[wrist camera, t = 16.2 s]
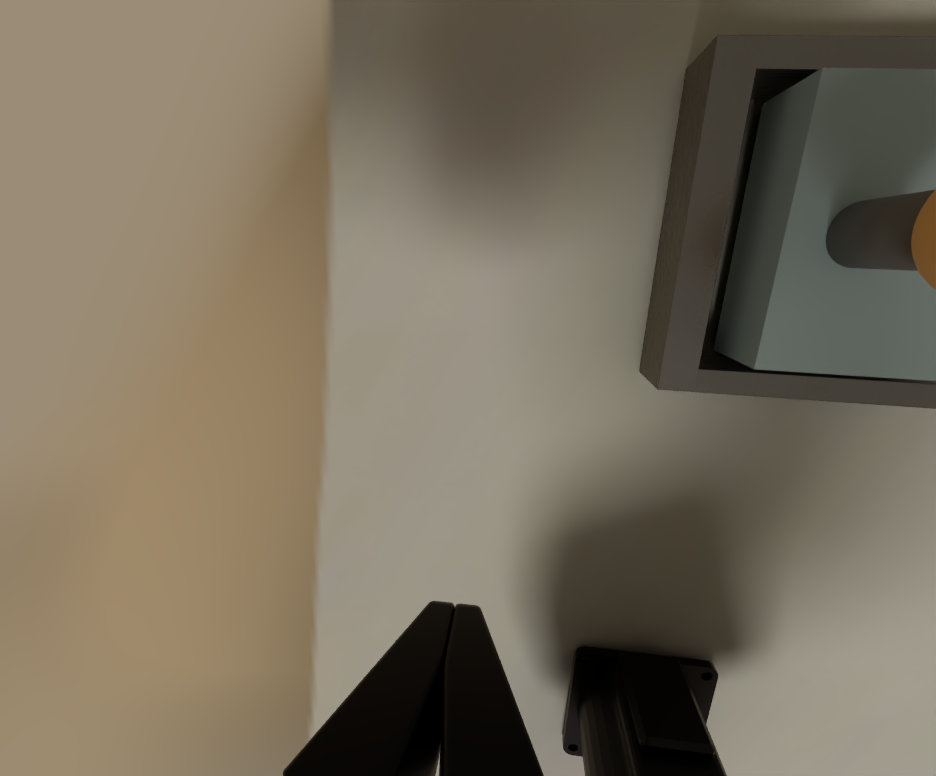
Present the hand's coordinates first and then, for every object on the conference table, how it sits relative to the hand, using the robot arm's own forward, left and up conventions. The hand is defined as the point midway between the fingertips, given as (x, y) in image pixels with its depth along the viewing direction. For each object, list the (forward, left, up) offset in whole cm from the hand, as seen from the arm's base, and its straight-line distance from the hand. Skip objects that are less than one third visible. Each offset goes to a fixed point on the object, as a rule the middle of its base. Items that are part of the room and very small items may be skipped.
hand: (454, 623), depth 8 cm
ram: (+7, -12, -11) cm, 18 cm away
